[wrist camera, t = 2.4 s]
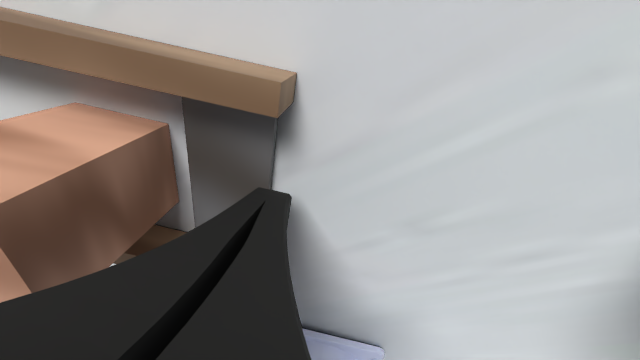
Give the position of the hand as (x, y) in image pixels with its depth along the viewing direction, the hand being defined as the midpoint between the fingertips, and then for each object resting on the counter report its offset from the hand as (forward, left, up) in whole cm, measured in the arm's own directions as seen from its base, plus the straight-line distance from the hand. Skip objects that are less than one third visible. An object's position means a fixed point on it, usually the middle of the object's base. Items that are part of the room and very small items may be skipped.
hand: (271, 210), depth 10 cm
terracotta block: (0, +7, -2) cm, 7 cm away
